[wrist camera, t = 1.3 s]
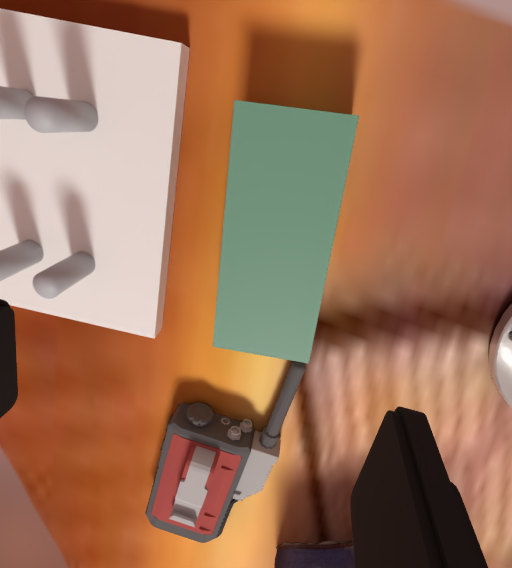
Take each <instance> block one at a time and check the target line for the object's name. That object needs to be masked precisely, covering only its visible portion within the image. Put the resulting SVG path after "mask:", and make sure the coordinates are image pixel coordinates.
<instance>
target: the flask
mask: <svg viewBox="0 0 512 568" xmlns="http://www.w3.org/2000/svg"><path fill="white" fill-rule="evenodd" d="M351 541H352V542H346V541H345V542H341V541H339V542H337V541H324V542H322V543H319V544H313V543H312V542H310V543H307V544H300V543H296V544H295V543H294V544H292V543H283V544H281V545H280V546H279V547H276V548H277V554H276V557H275V564H274V565H275V568H355V558H354V545H353V540H351Z"/></svg>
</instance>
